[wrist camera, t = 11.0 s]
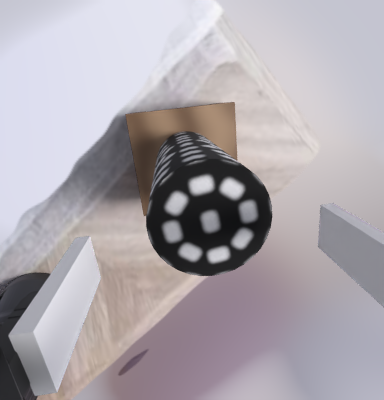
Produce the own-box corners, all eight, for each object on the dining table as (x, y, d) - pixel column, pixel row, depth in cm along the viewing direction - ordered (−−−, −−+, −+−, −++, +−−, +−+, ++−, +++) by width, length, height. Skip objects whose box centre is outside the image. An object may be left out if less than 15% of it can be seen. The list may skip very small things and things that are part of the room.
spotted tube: (148, 140, 35) (128, 178, 16) (210, 124, 35) (262, 143, 16) (166, 198, 38) (166, 288, 19) (222, 183, 38) (279, 258, 19)
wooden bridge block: (147, 198, 46) (143, 215, 38) (133, 112, 41) (125, 114, 34) (227, 187, 46) (239, 203, 39) (222, 102, 42) (234, 102, 34)
